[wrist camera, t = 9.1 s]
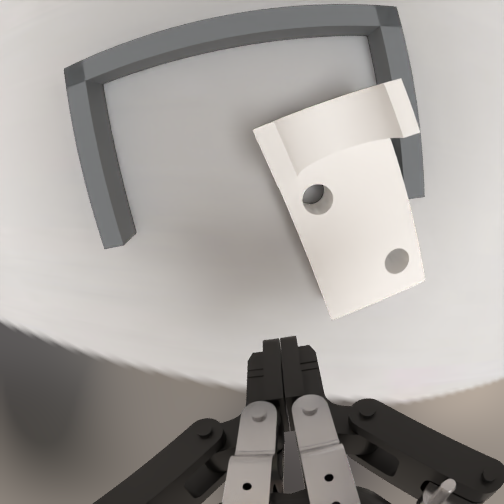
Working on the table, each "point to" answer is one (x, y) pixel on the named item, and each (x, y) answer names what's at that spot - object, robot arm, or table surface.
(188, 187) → the table surface
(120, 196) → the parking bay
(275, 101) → the table surface
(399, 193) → the bracket
